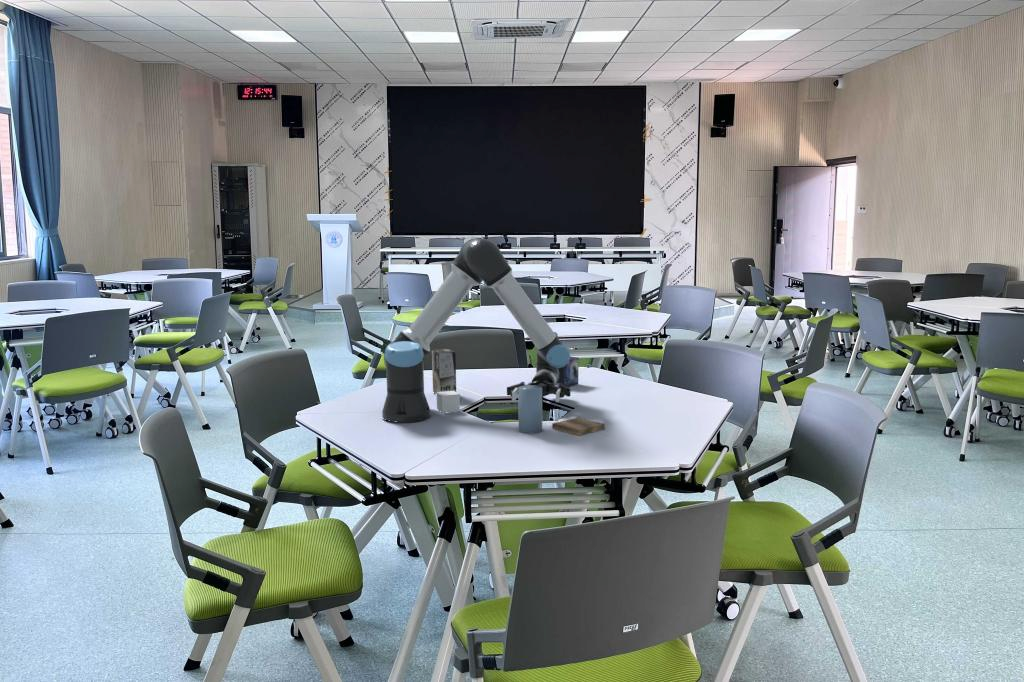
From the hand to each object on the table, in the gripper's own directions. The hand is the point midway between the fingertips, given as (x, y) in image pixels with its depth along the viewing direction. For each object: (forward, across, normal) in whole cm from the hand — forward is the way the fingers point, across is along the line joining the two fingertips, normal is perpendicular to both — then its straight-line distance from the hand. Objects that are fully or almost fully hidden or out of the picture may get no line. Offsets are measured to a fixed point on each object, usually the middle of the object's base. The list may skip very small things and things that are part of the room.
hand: (535, 397), depth 248 cm
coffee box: (-34, +37, -8) cm, 52 cm away
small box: (-55, -3, -8) cm, 56 cm away
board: (+6, -14, -8) cm, 17 cm away
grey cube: (-12, +30, -8) cm, 34 cm away
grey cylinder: (+10, 0, -8) cm, 13 cm away
